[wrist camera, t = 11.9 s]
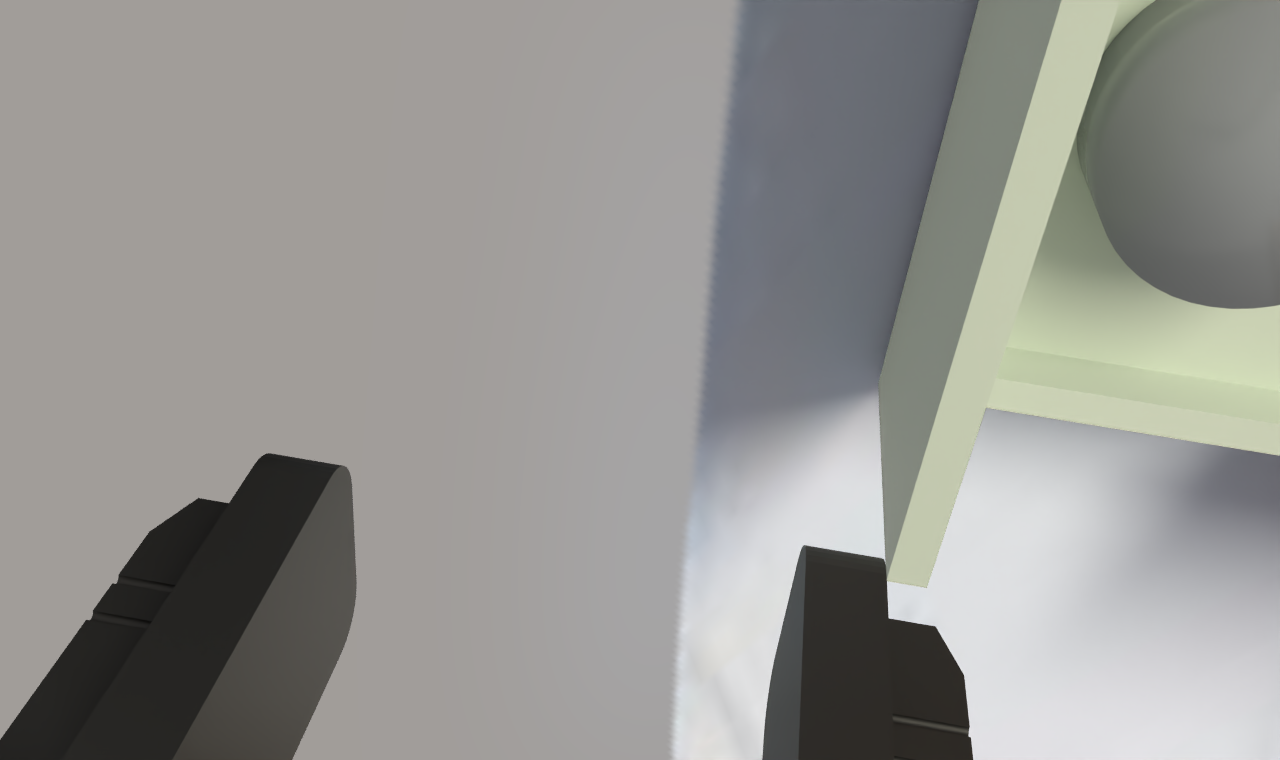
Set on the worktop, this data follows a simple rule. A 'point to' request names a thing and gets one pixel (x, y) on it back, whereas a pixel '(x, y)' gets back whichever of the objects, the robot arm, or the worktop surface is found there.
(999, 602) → the worktop surface
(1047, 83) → the tray
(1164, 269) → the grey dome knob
